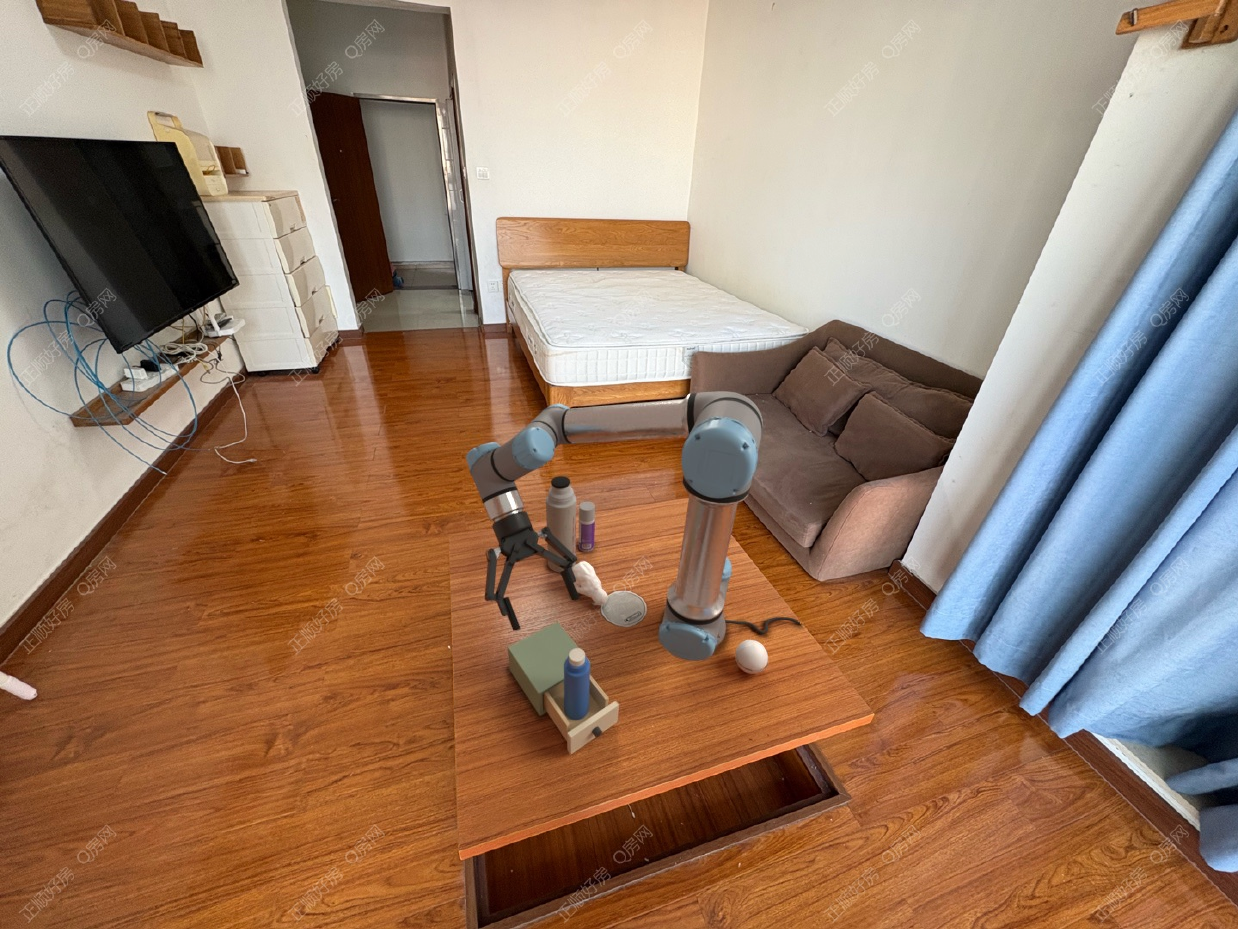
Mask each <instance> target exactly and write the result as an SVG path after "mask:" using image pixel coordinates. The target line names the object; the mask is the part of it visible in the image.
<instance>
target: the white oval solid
mask: <svg viewBox="0 0 1238 929" xmlns="http://www.w3.org/2000/svg"><path fill="white" fill-rule="evenodd" d="M734 659H735V662H736V664H737V666H738V667H739V669H740V670H741V671H743V672H745V673H747V674H750V675H755V674H759V673H761V672H763V671H764V670H765V671H767V672H768V673H770V674H772V675H774V676H775V674H774V673H772V672H770V671H769V670H767V669H766V667H767V666H768V664H769V654H768V652H767V650H766V647H765V646H764V645H763V644H762V643H760V642H759V641H757V640H755V639H745V640H743V641H741V642H740V643H739V644H738V645H737V647H736V649H735V653H734Z"/></svg>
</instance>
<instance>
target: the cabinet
mask: <svg viewBox="0 0 1238 929" xmlns="http://www.w3.org/2000/svg"><path fill="white" fill-rule="evenodd" d="M575 648H580V647H579V646H578V644H577V643H576V642H575V641H574V640H573V639H572V638H571V636H570V634H568V632H567V631H566V630H565V629H564V627H563V626H562V625H561V624H560V623H559V621H555V622H553V623H551V624H550V625H547V626H546V627H543V628H542V629H540V630H538V631H536V632H534V633H532V634H530V635H528V636H527V637H524V638H523V639H521V640H519V641H517V642H515V643H513V644H511V645H509V646H508V647H507V656H508V667H509V671H510V673H511V674H512V675H513V677H514V679H515V681H516V682H517V683H518V685H519V686H520V688H521V690H522V691H523V693H524V694H525V695H526V697H527V699H528V700H529V702H530V704H531V705H532V706H533V708H534V709H535V711H536V712H537V714H538V716H539V717H541V716H543V715H545V714H546V713H547V711H546V710H545V708H544V707H543V696H542V694H543V693H545V692H547V691H548V690H550V689H552V688H553V687H555V686H557V685H558V684H560V683H562V682H563V681H564V662H565V660H566V659H567V658H568V656H569V653H570V651H571V650H573V649H575ZM587 659H588V660H589V658H588V657H587ZM589 662H590V675H591V673H592V672H591V671H592V662H591V661H590V660H589ZM591 676H592V675H591Z"/></svg>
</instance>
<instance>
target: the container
mask: <svg viewBox="0 0 1238 929" xmlns="http://www.w3.org/2000/svg"><path fill="white" fill-rule="evenodd" d="M595 531H596V505H595V503H594V502H592V501H588V500H587V501H585V500H584V501H582V502H581V503H579V506H578V539H577V540H578V541H577V542H578V544H577V546H578V549H579V551H581V552H585V553H587V552H588V553H589V552H592V551H593V550H594V549H595Z"/></svg>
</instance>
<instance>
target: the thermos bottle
mask: <svg viewBox="0 0 1238 929" xmlns="http://www.w3.org/2000/svg"><path fill="white" fill-rule="evenodd" d="M550 486H551V487H550V488H549V489H548V493H547V495H546V497H545V517H546V518H545V519H546V527H549V529H550V531H551V533H552V534H553V536H554V537H555V538H557V539H558V540H559V541H560V542H561V543H562V544H563V545H564V546H565V547H566V548H567V549H568V550H569V551H571V552H572V553H573V554H574V555H575V556H576V557H577V496H576V495H575V491H574V489H573V488H572V487H571V479H570V478H569V477H567V476H565V475H564V476H563V475H558V476H554V477H553V478H551V481H550ZM546 543H547V542H546ZM546 547H547V548H546V550H548V551H550V552H552V553H553V554H555V555H557V556H559V557H561V558H562V559H564V558H563V557H562V556H561V555H560V554H559V553H558V552H557V551H556V550H554V549H553V548H552V547H551V546H550V545H549V544H548V543H547V546H546ZM564 560H565V559H564ZM576 564H577V561H576V562H574V563H573V566H572V568H573V567H574V566H575V565H576ZM547 566H548V567H549V569H550V570H552V571H554V572H557V573H560V572H561V571H563V570H564V569H562V568H560V567H559V566H557V565H555V564H553V563H551V562H549V561H548V560H547Z"/></svg>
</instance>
